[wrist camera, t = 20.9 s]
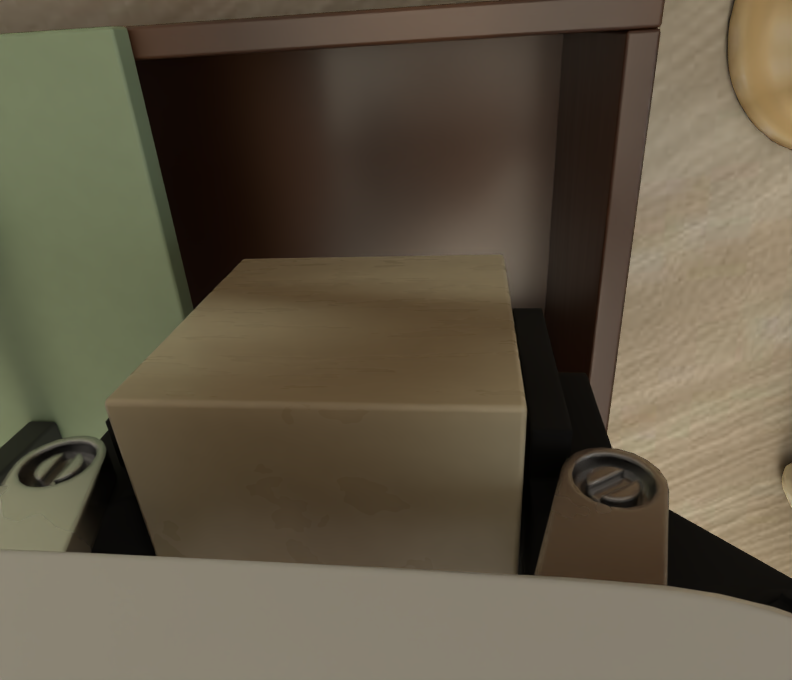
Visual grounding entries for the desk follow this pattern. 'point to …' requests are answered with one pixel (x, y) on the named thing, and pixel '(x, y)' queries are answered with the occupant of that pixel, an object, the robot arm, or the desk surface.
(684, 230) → the desk surface
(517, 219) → the box
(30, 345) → the lid
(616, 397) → the desk surface
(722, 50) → the desk surface
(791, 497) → the basket
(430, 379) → the block
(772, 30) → the hand bell
